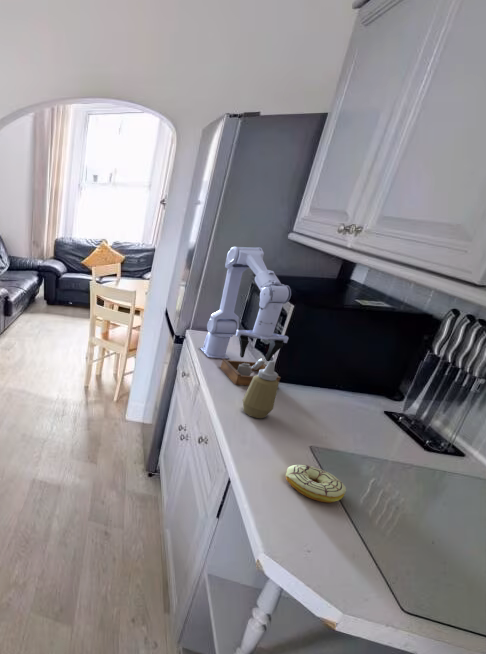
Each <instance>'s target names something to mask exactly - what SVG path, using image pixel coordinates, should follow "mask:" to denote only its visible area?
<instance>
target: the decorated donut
mask: <svg viewBox="0 0 486 654" xmlns="http://www.w3.org/2000/svg"><path fill="white" fill-rule="evenodd" d="M285 480H286V482H287V483H288V484H289V485H290V486H291V488H293V489H294V490H296V491H297V492H298V493H299V494H302V495H303V496H305V497H306V498H309V499H311V500H314V501H317V502H321V503H335V502H338V501H341V500H342V499H343V498H344V496H345V494H346V491H347V487H346V486H345V484H344V483H343V482H342V481H341V480H340V479H339V478H338V477H337V476H336V475H334V474H332V473H330V472H328V471H326V470H324V469H321V468H318V467H315V466H312V465H307V464H293V465H290V466H289V467H288V466H287V469H286V473H285Z"/></svg>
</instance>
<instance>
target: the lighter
mask: <svg viewBox="0 0 486 654" xmlns="http://www.w3.org/2000/svg"><path fill="white" fill-rule="evenodd" d="M256 362H257V363H255V364H254V365H253V366H249V365H250V364H248V363H242V365H241V364H239V366H238V369H237V371H238V372H239V373H240V374H241V375H243V376H251V375H252V372H253V371H252V368H253V369H255V370H257V369H258V368H259V367H260V366H261V365H263V364H266V360H264V359H263V358H260V359H258V360H257V361H256Z"/></svg>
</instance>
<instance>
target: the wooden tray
mask: <svg viewBox="0 0 486 654" xmlns="http://www.w3.org/2000/svg"><path fill="white" fill-rule="evenodd" d="M221 360H222V361H221V363H220V367H219V368H220V370H221V371H222V372H223V373H224V374H225V375H226V376H227V377H228V379H230V381H231V382H232V383H233V384H234V385H235V386H245V387H247V386H248V387H249V385H250V383H251V381H252V379H253V377H254V376H255V375H250V376H243V375H241V374H240V373H239V372H238V371H237V369H238V366H239V364H241V365H242V363H248V364H250V365H249V366H253V365H254V364H255V363H257V362H258V361H241V360H231V359H230V360H229V359H224V358H221ZM267 365H268V364H267ZM267 365H266V363H264V364H263V365H261V366H260V367H259V368H258V369H257V370H255V369H253V368H252V371H251V372H256V373H257V374H258V373H259V370H261V369H265V368H266V366H267ZM276 380H277V381H278V382H279V383H280V380H281V376H279V375H278V376H277V379H276Z"/></svg>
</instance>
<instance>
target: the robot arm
mask: <svg viewBox="0 0 486 654" xmlns="http://www.w3.org/2000/svg"><path fill="white" fill-rule="evenodd" d="M264 256H265V251H263V248H262V247H259V246H258V247H252V246H251V247H249V246H248V247H245V246H232V247H231V248H230V250H228V252H227V254H226V259H225V265H224V268H226V269H227V271H226V276H225V281H224V286H223V291H222V296H221V301H220V305H219V310H217V311H215V312H213V313H212V314H210V317H209V320H208V321H207V324H206V330H207V332H208V333H207V334H206V335H205V339H204V343H203V345H202V347H200V350H201V351H202V352H203V353H204V355H205V356H206V357H207V358H210V359H211V358H213V359H223V358H224V359H226V360H229V359H230V357H229V356H228V355H227V354H226V353H227V351H228V347H229V343H230V339H231V338H232V337H233V336H234V335H235V337H238V342H239V345H240V346H239V347H240V350H239V357H240V358H244V357H245V354H246V350H247V347H248V345H249V342H250V341H249V339H256V340H257V339H258V340H265V341H270V342H269V347H268V350H267V352H266V355H265V362H270V361H271V360H272V358H273V356H274V355H275V354H276V353H277V352H278V351H279V350H280V349H282V348H283V347H284V344H288V341H289V336H288V335H284V334H279V333H275V329H276V326H277V323H278V321H279V317H280V315H281V312H282V310H283V306H284V304H287V303H288V302H289V301H290V299H291V296H292V289H291V287H290V286H289V285H287V284H283V283H281V281H280V279H279V277H278V276H277V275H276V273H275V271H274V270H270V269H268V268H267V265H266V263H265V261H264ZM249 269H250V270H251V272H252V273H253V274H254V276H255V277H254V283H255V284H256V286H257V287H258V290H259V291H260V293H259V303H258V304H259V305H258V306H259V309H258V312H257V316H256V319H255V322H254V325H253V329H239V328H240V323H239V322H240V317H239V316H238V315H237V314H236V313H235V309H236V306H237V305H236V304H237V300H238V296H239V292H240V287H241V283H242V282H241V281H242V276H243V273H244V272H246V270H249Z"/></svg>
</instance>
